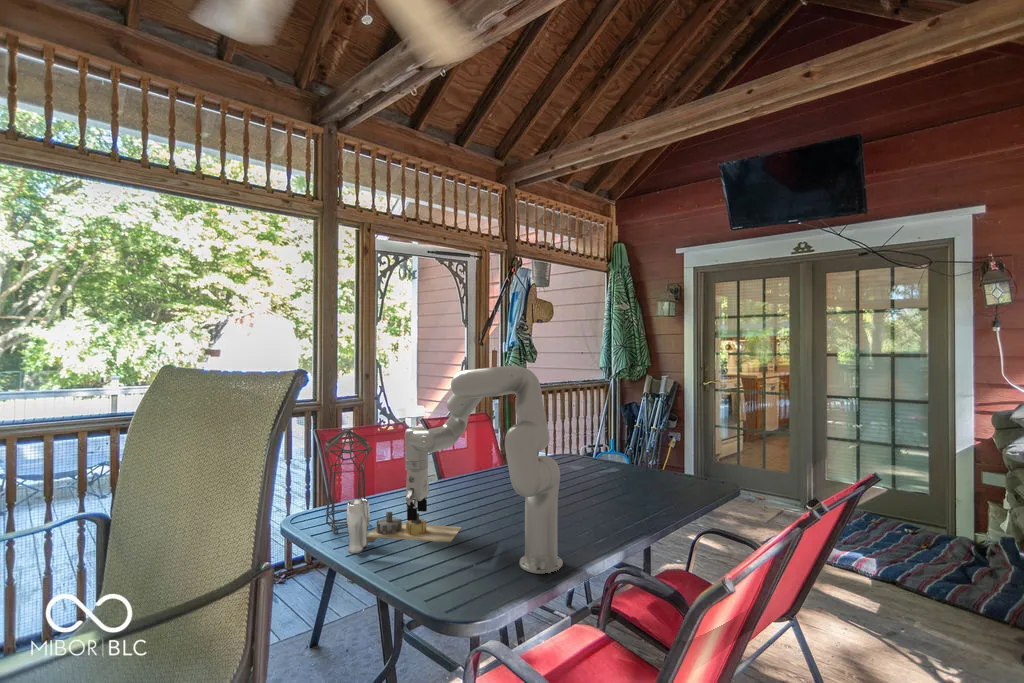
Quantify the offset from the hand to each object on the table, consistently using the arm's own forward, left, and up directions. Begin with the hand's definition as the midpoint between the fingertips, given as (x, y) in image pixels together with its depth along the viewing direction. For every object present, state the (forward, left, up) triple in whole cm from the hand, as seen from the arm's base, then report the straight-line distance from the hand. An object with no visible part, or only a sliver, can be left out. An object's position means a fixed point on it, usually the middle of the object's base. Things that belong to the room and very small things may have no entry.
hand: (417, 515), depth 174 cm
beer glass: (-14, +15, -7) cm, 21 cm away
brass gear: (0, 0, -6) cm, 6 cm away
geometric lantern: (+2, +27, -7) cm, 28 cm away
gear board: (0, +1, -7) cm, 7 cm away
